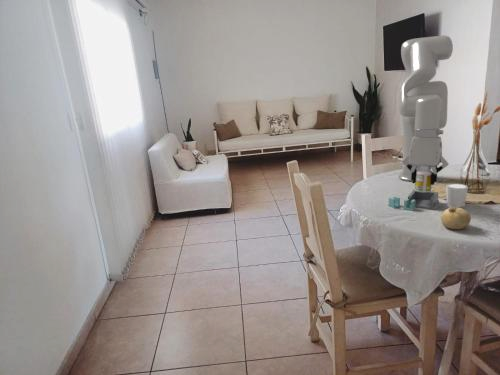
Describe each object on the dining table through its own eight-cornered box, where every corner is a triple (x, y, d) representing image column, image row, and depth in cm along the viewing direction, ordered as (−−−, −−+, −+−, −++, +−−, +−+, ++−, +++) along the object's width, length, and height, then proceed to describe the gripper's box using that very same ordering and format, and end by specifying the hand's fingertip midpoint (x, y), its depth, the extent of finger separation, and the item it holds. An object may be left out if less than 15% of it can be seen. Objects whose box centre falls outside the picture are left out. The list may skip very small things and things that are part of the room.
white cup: (464, 201, 130) (465, 183, 128) (468, 208, 124) (470, 189, 122) (443, 201, 133) (444, 183, 131) (446, 207, 127) (447, 188, 125)
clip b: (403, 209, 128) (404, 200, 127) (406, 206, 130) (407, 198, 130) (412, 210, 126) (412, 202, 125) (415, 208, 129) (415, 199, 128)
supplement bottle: (429, 189, 131) (432, 163, 129) (432, 193, 126) (434, 166, 124) (413, 188, 133) (415, 163, 130) (415, 192, 128) (418, 165, 125)
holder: (412, 198, 138) (413, 189, 136) (438, 201, 132) (439, 192, 131) (406, 206, 131) (406, 196, 130) (433, 209, 125) (434, 199, 124)
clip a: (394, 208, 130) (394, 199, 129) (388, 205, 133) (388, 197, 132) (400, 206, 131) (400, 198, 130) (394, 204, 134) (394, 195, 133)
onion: (445, 220, 116) (446, 200, 114) (472, 225, 111) (474, 204, 109) (436, 229, 111) (438, 207, 109) (465, 234, 106) (467, 212, 104)
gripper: (456, 132, 121) (452, 182, 126) (403, 131, 132) (401, 178, 137) (452, 135, 116) (448, 188, 121) (397, 134, 126) (396, 183, 131)
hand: (423, 182), depth 129 cm, fingers closed on supplement bottle, 5 cm apart
